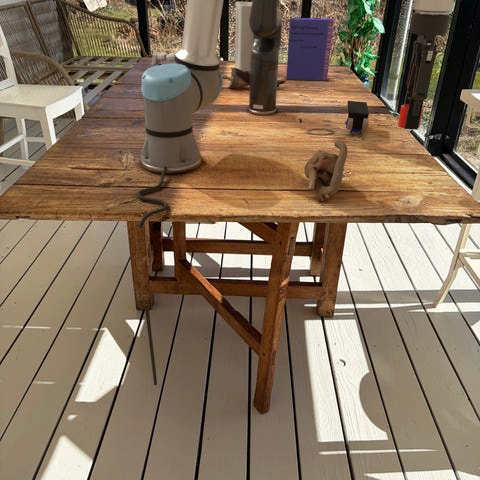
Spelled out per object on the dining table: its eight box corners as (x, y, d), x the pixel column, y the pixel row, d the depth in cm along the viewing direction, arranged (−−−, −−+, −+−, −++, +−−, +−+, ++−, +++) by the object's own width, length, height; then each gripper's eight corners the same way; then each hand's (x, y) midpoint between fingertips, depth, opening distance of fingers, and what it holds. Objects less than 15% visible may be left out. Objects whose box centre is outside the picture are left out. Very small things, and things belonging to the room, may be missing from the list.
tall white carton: (273, 76, 210) (276, 6, 196) (239, 77, 209) (240, 6, 194) (266, 67, 226) (268, 2, 212) (235, 67, 225) (235, 1, 210)
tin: (402, 129, 107) (406, 110, 104) (394, 123, 111) (397, 104, 108) (422, 129, 107) (427, 109, 105) (414, 122, 111) (418, 103, 109)
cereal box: (326, 78, 209) (332, 18, 196) (327, 80, 205) (333, 19, 192) (286, 77, 210) (290, 17, 197) (286, 79, 206) (290, 18, 193)
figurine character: (367, 142, 142) (363, 122, 154) (371, 118, 138) (367, 99, 149) (344, 141, 143) (342, 120, 155) (348, 117, 138) (346, 98, 150)
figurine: (210, 87, 179) (288, 95, 182) (212, 65, 176) (291, 73, 180) (208, 84, 201) (278, 91, 205) (210, 64, 198) (280, 71, 202)
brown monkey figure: (321, 192, 118) (322, 208, 103) (296, 168, 117) (293, 181, 103) (359, 155, 113) (365, 166, 99) (333, 130, 112) (335, 137, 98)
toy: (171, 74, 211) (170, 58, 208) (148, 64, 229) (146, 49, 225) (218, 68, 223) (218, 53, 219) (192, 59, 240) (192, 44, 237)
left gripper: (461, 18, 89) (433, 139, 101) (442, 8, 104) (420, 114, 116) (419, 16, 90) (396, 136, 102) (406, 7, 105) (388, 113, 117)
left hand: (409, 124), depth 109 cm, fingers closed on tin, 5 cm apart
